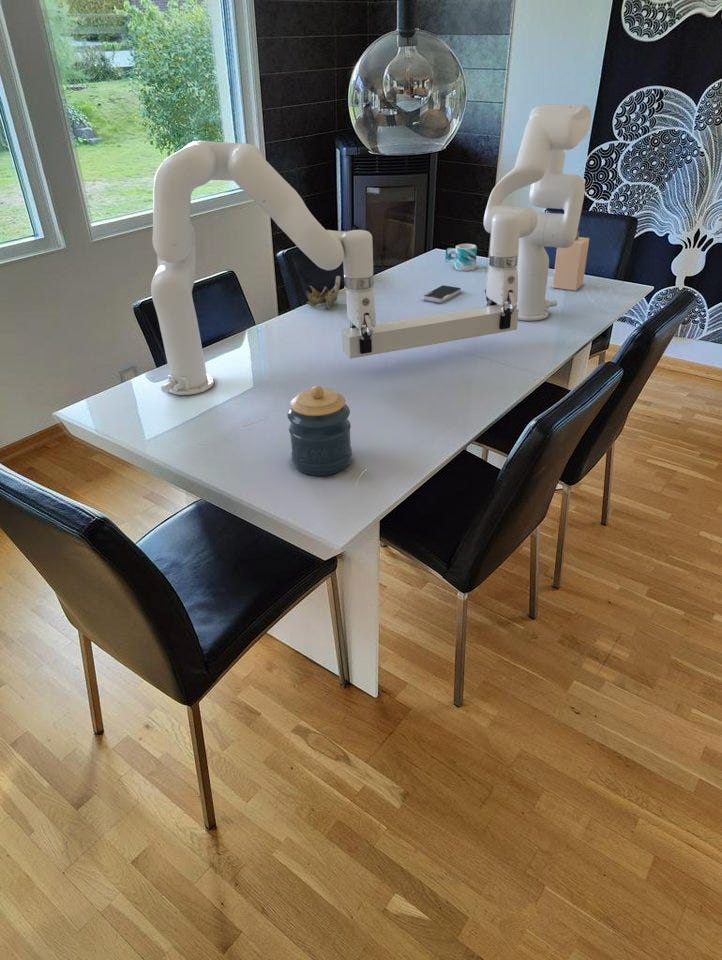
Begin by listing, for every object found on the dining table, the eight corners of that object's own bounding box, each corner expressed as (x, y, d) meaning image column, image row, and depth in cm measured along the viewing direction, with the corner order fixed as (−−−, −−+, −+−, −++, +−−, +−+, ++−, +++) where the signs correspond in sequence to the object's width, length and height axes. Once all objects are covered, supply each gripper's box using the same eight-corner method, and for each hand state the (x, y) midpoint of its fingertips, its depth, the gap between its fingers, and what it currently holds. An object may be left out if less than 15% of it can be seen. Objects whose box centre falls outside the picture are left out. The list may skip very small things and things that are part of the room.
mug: (470, 271, 262) (471, 249, 257) (442, 268, 267) (442, 246, 263) (478, 266, 268) (479, 244, 263) (451, 262, 273) (451, 241, 268)
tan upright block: (559, 281, 247) (567, 218, 235) (582, 284, 243) (592, 220, 231) (548, 290, 238) (556, 226, 226) (572, 294, 234) (581, 228, 222)
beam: (350, 358, 178) (349, 337, 175) (342, 350, 183) (341, 329, 180) (516, 329, 192) (518, 309, 189) (505, 322, 197) (507, 302, 194)
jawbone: (353, 284, 236) (341, 264, 228) (334, 318, 232) (322, 299, 224) (332, 281, 241) (320, 262, 233) (313, 315, 237) (300, 296, 229)
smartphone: (461, 288, 240) (441, 299, 230) (461, 291, 241) (441, 303, 231) (442, 285, 244) (422, 296, 234) (442, 288, 245) (422, 300, 235)
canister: (282, 471, 142) (273, 395, 133) (307, 442, 152) (301, 370, 143) (338, 481, 138) (333, 404, 129) (360, 451, 148) (358, 377, 139)
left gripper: (385, 289, 165) (386, 357, 175) (360, 271, 179) (363, 335, 189) (356, 293, 163) (359, 362, 173) (334, 275, 177) (337, 339, 187)
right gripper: (532, 267, 177) (525, 332, 187) (499, 252, 191) (494, 313, 200) (507, 270, 175) (502, 336, 185) (475, 255, 189) (472, 317, 198)
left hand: (361, 347), depth 181 cm, fingers closed on beam, 6 cm apart
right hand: (498, 323), depth 192 cm, fingers closed on beam, 6 cm apart
